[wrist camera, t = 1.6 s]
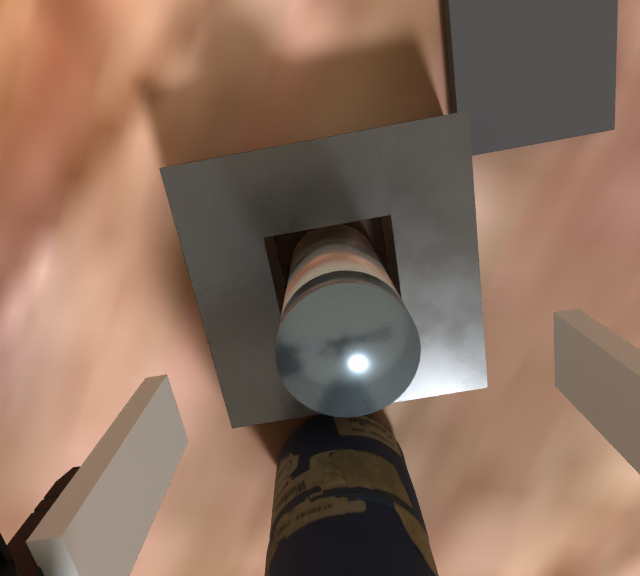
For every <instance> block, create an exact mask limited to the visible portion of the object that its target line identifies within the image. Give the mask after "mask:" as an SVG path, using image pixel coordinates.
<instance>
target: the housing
mask: <svg viewBox="0 0 640 576" xmlns="http://www.w3.org/2000/svg"><path fill="white" fill-rule="evenodd" d="M160 172H161V175H162V179H163V183H164V186H165V190H166V193H167V197H168V200H169V204H170V208H171V211H172V215H173V218H174V222H175V226H176V229H177V233H178V236H179V240H180V243H181V247H182V251H183V254H184V258H185V261H186V265H187V269H188V272H189V276H190V279H191V283H192V286H193V290H194V294H195V297H196V301H197V304H198V308H199V312H200V315H201V319H202V322H203V326H204V329H205V333H206V337H207V340H208V344H209V347H210V351H211V354H212V358H213V362H214V365H215V369H216V372H217V376H218V380H219V383H220V387H221V390H222V394H223V397H224V401H225V405H226V408H227V412H228V415H229V419H230V423H231V426H232V428H237V427H244V426H250V425H256V424H262V423H268V422H275V421H281V420H287V419H293V418H300V417H306V416H312V415H318V414H322V413H319V412H316V411H314V410H312V409H310V408H308V407H306V406H305V405H304V404H302V403H301V402H299V401H298V400H297V399H296V398H295V397H294V396H293V395H292V394H291V393H290V392H289V391H288V389H287V388H286V386H285V385H284V383H283V382H282V379H281V377H280V375H279V372H278V369H277V365H276V359H275V348H276V341H277V335H278V330H279V325H280V319H281V314H282V309H283V304H284V298H285V293H286V292H285V287H284V283H283V278H282V273H281V269H280V264H279V259H278V254H277V250H276V245H275V240H274V236H275V235H281V234H287V233H292V232H298V231H303V230H309V229H315V228H320V227H326V226H331V225H337V224H343V223H348V222H354V221H360V220H365V219H371V218H376V217H381V220H382V227H383V234H384V242H385V249H386V257H387V264H388V271H389V278H390V279H391V281H392V283H393V285H394V287H395V288H396V290H397V292H398V294H399V296H400V297H401V299H402V301H403V303H404V305H405V306H406V308H407V310H408V312H409V314H410V315H411V317H412V319H413V321H414V323H415V325H416V327H417V330H418V333H419V337H420V342H421V356H420V362H419V366H418V370H417V372H416V375H415V377H414V379H413V380H412V382H411V384H410V385H409V387H408V388H407V389H406V391H405V392H404V393H403V394H402V395H401V396H400V397H399V398H398V399H396V400H395V401H394V402H399V401H406V400H412V399H418V398H424V397H431V396H437V395H443V394H449V393H455V392H462V391H468V390H474V389H480V388H487V387H488V385H487V370H486V356H485V341H484V327H483V312H482V298H481V283H480V269H479V254H478V240H477V225H476V211H475V196H474V182H473V167H472V153H471V138H470V124H469V111H464V112H459V113H454V114H448V115H443V116H437V117H432V118H427V119H421V120H416V121H411V122H405V123H400V124H395V125H389V126H384V127H379V128H373V129H368V130H362V131H357V132H352V133H346V134H341V135H336V136H330V137H325V138H320V139H314V140H309V141H304V142H298V143H293V144H287V145H282V146H277V147H271V148H266V149H261V150H255V151H250V152H245V153H239V154H234V155H229V156H223V157H218V158H212V159H207V160H202V161H196V162H191V163H186V164H180V165H175V166H170V167H164V168H160Z"/></svg>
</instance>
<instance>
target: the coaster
mask: <svg viewBox="0 0 640 576" xmlns="http://www.w3.org/2000/svg"><path fill="white" fill-rule="evenodd" d="M443 4H444V17H445V29H446V42H447V55H448V67H449V80H450V92H451V105H452V114H454V113H459V112H464V111H469V124H470V138H471V153H472V155H478V154H483V153H489V152H494V151H500V150H505V149H511V148H516V147H522V146H527V145H533V144H538V143H544V142H549V141H555V140H560V139H566V138H571V137H577V136H582V135H588V134H593V133H599V132H604V131H609V130H614V127H615V88H616V49H617V10H618V0H443Z"/></svg>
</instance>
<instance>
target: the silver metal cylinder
mask: <svg viewBox="0 0 640 576" xmlns="http://www.w3.org/2000/svg"><path fill="white" fill-rule="evenodd" d="M420 356H421V342H420V337H419V333H418V330H417V327H416V325H415V323H414V321H413V319H412V317H411V315H410V314H409V312H408V310H407V308H406V306H405V305H404V303H403V301H402V299H401V297H400V296H399V294H398V292H397V290H396V288H395V287H394V285H393V283H392V281H391V279H390V278H389V276H388V274H387V272H386V271H385V269H384V267H383V265H382V263H381V262H380V260H379V258H378V256H377V254H376V253H375V251H374V249H373V247H372V245H371V244H370V242H369V241H368V239H367V238H366V237H365V236H364V235H363V234H362V233H360V232H359V231H358V230H356V229H354V228H352V227H350V226H346V225H342V224H337V225H331V226H326V227H320V228H315V229H313V230H311V231H310V232H308V233H307V234H306V235H305V236H304V237H303V238H302V239H301V240H300V241H299V243H298V244H297V246H296V248H295V250H294V253H293V257H292V261H291V267H290V272H289V277H288V283H287V288H286V293H285V298H284V304H283V309H282V314H281V319H280V325H279V330H278V335H277V341H276V348H275V359H276V365H277V369H278V372H279V375H280V377H281V379H282V382H283V383H284V385H285V386H286V388H287V389H288V391H289V392H290V393H291V394H292V395H293V396H294V397H295V398H296V399H297V400H298V401H299V402H301V403H302V404H304V405H305V406H306V407H308V408H310V409H312V410H314V411H316V412H319V413H322V414H325V415H329V416H335V417H358V416H363V415H368V414H371V413H374V412H376V411H379V410H381V409H383V408H385V407H386V406H388V405H390V404H391V403H393V402H394V401H395V400H396V399H398V398H399V397H400V396H401V395H402V394H403V393H404V392H405V391H406V389H407V388H408V387H409V385H410V384H411V382H412V380H413V379H414V377H415V375H416V372H417V370H418V366H419V362H420Z"/></svg>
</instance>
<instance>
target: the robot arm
mask: <svg viewBox="0 0 640 576" xmlns="http://www.w3.org/2000/svg"><path fill="white" fill-rule="evenodd" d="M554 354H555V386H556V387H557V388H558V389H559V390H560V391H561V392H562V393H563V394H564V396H565V397H566V398H567V399H568V400H569V401H570V402H571V403H572V404H573V405H574V406H575V407H576V408H577V409H578V410H579V411H580V412H581V413H582V414H583V415H584V416H585V418H586V419H587V420H588V421H589V422H590V423H591V424H592V425H593V426H594V427H595V428H596V429H597V430H598V431H599V432H600V433H601V434H602V435H603V436H604V437H605V438H606V440H607V441H608V442H609V443H610V444H611V445H612V446H613V447H614V448H615V449H616V450H617V451H618V452H619V453H620V454H621V455H622V456H623V457H624V458H625V459H626V461H627V462H628V463H629V464H630V465H631V466H632V467H633V468H634V469H635V470H636V471H637V472H638V473H639V474H640V349H638V348H637V347H635V346H634V345H632V344H631V343H629V342H628V341H626V340H624V339H623V338H621V337H620V336H618V335H617V334H615V333H614V332H612V331H611V330H609V329H608V328H606V327H605V326H603V325H602V324H600V323H599V322H597V321H596V320H594V319H593V318H591V317H589V316H588V315H586V314H585V313H583V312H582V311H580V310H579V309H573V310H567V311H560V312H554ZM187 443H188V438H187V435H186V432H185V429H184V426H183V423H182V420H181V417H180V413H179V410H178V407H177V404H176V401H175V398H174V395H173V392H172V388H171V385H170V382H169V379H168V376H167V375H161V376H155V377H149V378H145V379H144V381H143V382H142V384H141V385H140V386H139V388H138V389H137V390H136V392H135V393H134V395H133V396H132V397H131V399H130V400H129V401H128V403H127V404H126V405H125V407H124V408H123V410H122V411H121V412H120V414H119V415H118V416H117V418H116V419H115V420H114V422H113V423H112V425H111V426H110V427H109V429H108V430H107V431H106V433H105V434H104V436H103V437H102V438H101V440H100V441H99V442H98V444H97V445H96V446H95V448H94V449H93V451H92V452H91V453H90V455H89V456H88V457H87V459H86V460H85V461H84V463H83V464H82V466H80V467H73V468H72V469H71V470H70V471H68V472H67V473H66V474H65V475H64V476H62V477H61V478H60V479H59V480H58V481H56V482H55V484H54V485H53V486H52V488H51V489H50V490H49V491H48V493H47V494H46V495H45V497H44V500H42V501H41V502H40V503H39V504H38V506H37V507H36V508H35V510H34V513H31V515H30V516H29V517H28V519H27V520H26V521H25V523H24V524H23V525H22V526H21V528H20V529H19V530H18V532H17V533H16V534H15V535H14V537H13V538H12V539H11V541H10V542H9V543H8V545H6V543H5V541H4V539H3V537H2V535H1V534H0V576H130V573H131V571H132V569H133V566H134V564H135V562H136V560H137V557H138V555H139V553H140V550H141V548H142V546H143V544H144V541H145V539H146V537H147V534H148V532H149V530H150V528H151V525H152V523H153V521H154V518H155V516H156V514H157V512H158V509H159V507H160V505H161V502H162V500H163V498H164V496H165V493H166V491H167V489H168V486H169V484H170V482H171V480H172V477H173V475H174V473H175V470H176V468H177V466H178V464H179V461H180V459H181V457H182V454H183V452H184V450H185V448H186V445H187Z"/></svg>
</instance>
